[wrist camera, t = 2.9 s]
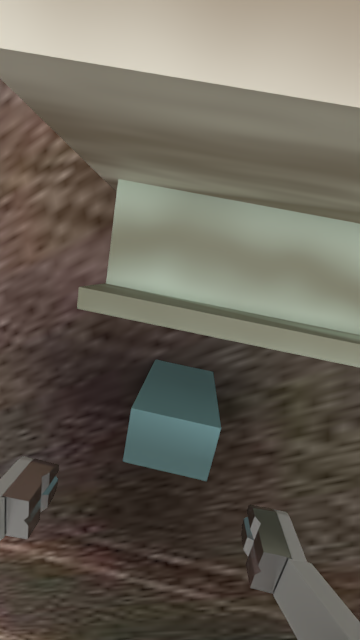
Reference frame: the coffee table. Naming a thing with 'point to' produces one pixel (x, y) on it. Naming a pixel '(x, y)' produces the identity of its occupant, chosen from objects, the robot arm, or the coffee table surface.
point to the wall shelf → (211, 157)
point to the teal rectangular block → (174, 421)
